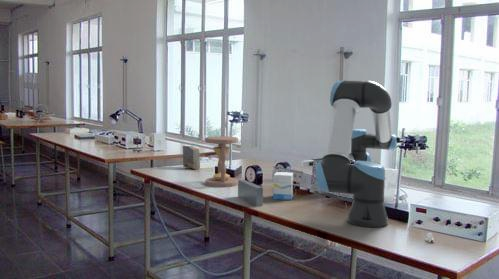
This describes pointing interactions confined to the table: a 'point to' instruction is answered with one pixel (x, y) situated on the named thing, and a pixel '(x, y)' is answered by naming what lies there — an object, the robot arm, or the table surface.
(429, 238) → the power adapter
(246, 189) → the block
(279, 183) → the ink box
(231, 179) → the hourglass
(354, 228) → the table surface
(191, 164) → the geological specimen
